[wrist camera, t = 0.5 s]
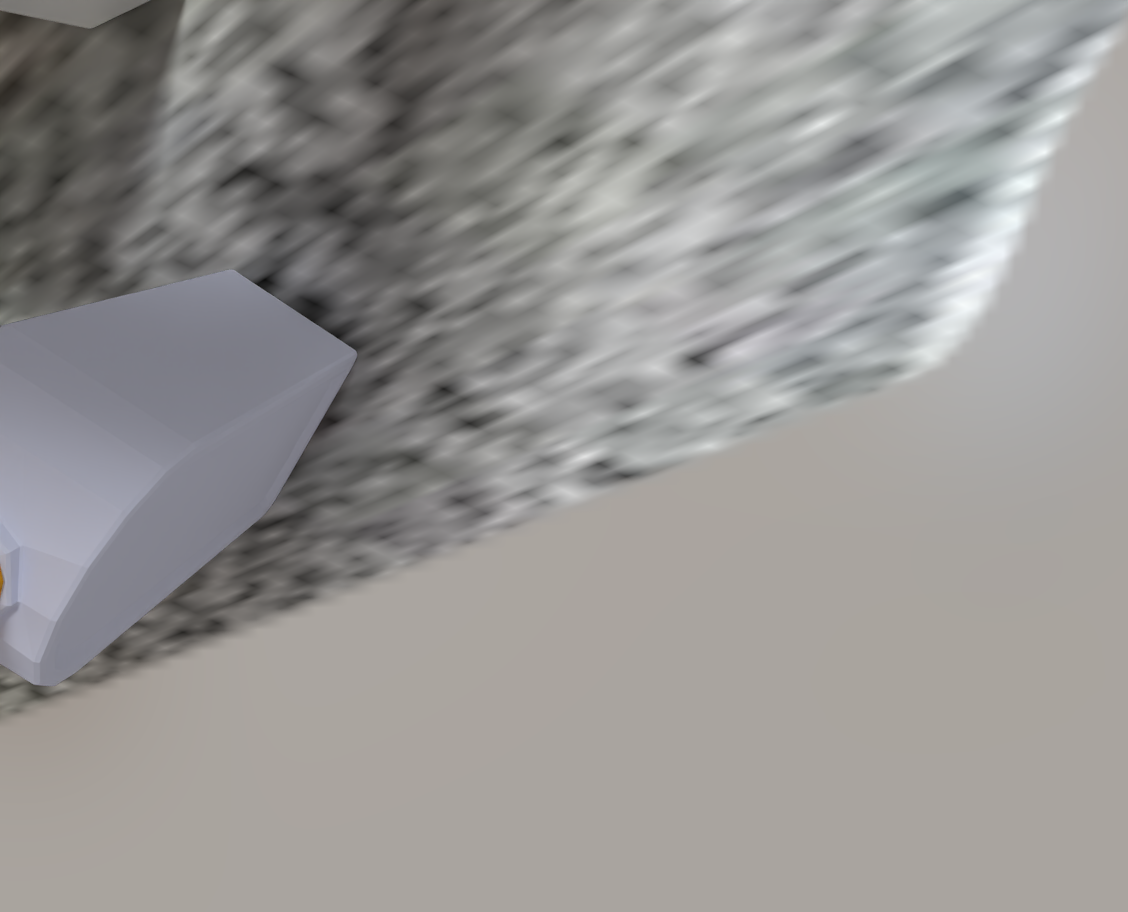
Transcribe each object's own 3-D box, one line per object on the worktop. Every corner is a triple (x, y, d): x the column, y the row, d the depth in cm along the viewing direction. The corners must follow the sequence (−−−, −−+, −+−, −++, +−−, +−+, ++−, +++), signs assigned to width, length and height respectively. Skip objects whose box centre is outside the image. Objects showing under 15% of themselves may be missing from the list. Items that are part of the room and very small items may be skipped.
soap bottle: (283, 522, 42) (-145, 904, 21) (149, 436, 42) (-431, 734, 20) (378, 359, 40) (-3, 605, 18) (236, 265, 39) (-332, 400, 17)
